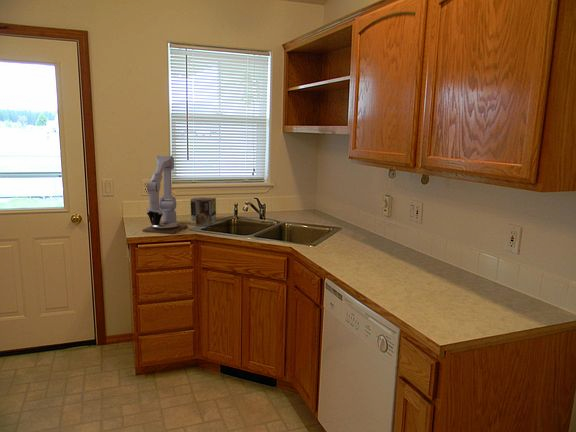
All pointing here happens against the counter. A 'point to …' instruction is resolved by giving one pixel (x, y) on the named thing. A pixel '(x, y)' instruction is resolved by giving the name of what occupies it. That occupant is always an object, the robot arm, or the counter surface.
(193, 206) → the dark piece
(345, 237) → the counter surface
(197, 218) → the coffee box
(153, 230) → the wheel base
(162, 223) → the handwheel
